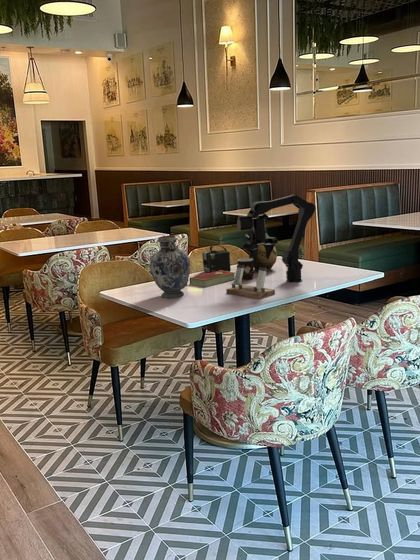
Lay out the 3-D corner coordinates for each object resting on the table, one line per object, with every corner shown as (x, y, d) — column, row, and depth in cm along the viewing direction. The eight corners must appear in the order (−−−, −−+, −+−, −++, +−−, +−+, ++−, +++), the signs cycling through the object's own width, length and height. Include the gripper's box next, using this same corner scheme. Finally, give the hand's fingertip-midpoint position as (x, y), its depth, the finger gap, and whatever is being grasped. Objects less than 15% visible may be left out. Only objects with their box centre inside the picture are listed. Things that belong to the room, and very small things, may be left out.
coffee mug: (236, 280, 273) (235, 261, 270) (241, 276, 280) (240, 258, 278) (257, 280, 268) (256, 261, 266) (262, 277, 276) (261, 258, 274)
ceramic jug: (279, 271, 286) (276, 216, 280) (250, 273, 287) (247, 218, 281) (275, 266, 303) (273, 213, 297) (248, 267, 303) (245, 215, 297)
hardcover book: (189, 284, 272) (189, 276, 271) (220, 277, 285) (220, 269, 284) (205, 287, 263) (204, 279, 262) (235, 280, 276) (235, 272, 275)
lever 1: (236, 284, 248) (239, 265, 248) (240, 285, 246) (244, 265, 246) (233, 284, 247) (237, 264, 247) (238, 285, 244) (242, 265, 245)
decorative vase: (198, 297, 242) (192, 236, 236) (158, 303, 237) (151, 241, 232) (186, 288, 262) (181, 232, 257) (149, 293, 258) (143, 236, 252)
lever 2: (258, 288, 238) (261, 267, 238) (263, 289, 235) (267, 268, 236) (255, 287, 236) (259, 267, 237) (260, 288, 234) (264, 267, 234)
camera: (201, 271, 302) (199, 245, 299) (223, 268, 308) (221, 242, 305) (209, 274, 293) (207, 247, 290) (231, 270, 298) (230, 244, 295)
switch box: (243, 288, 254) (242, 280, 253) (275, 293, 239) (274, 285, 238) (226, 293, 246) (226, 285, 246) (258, 299, 232) (257, 290, 231)
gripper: (260, 225, 265) (262, 256, 268) (233, 230, 253) (236, 263, 256) (277, 226, 257) (279, 257, 260) (250, 231, 245) (252, 264, 248)
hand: (261, 260), depth 256 cm, fingers open, 8 cm apart
